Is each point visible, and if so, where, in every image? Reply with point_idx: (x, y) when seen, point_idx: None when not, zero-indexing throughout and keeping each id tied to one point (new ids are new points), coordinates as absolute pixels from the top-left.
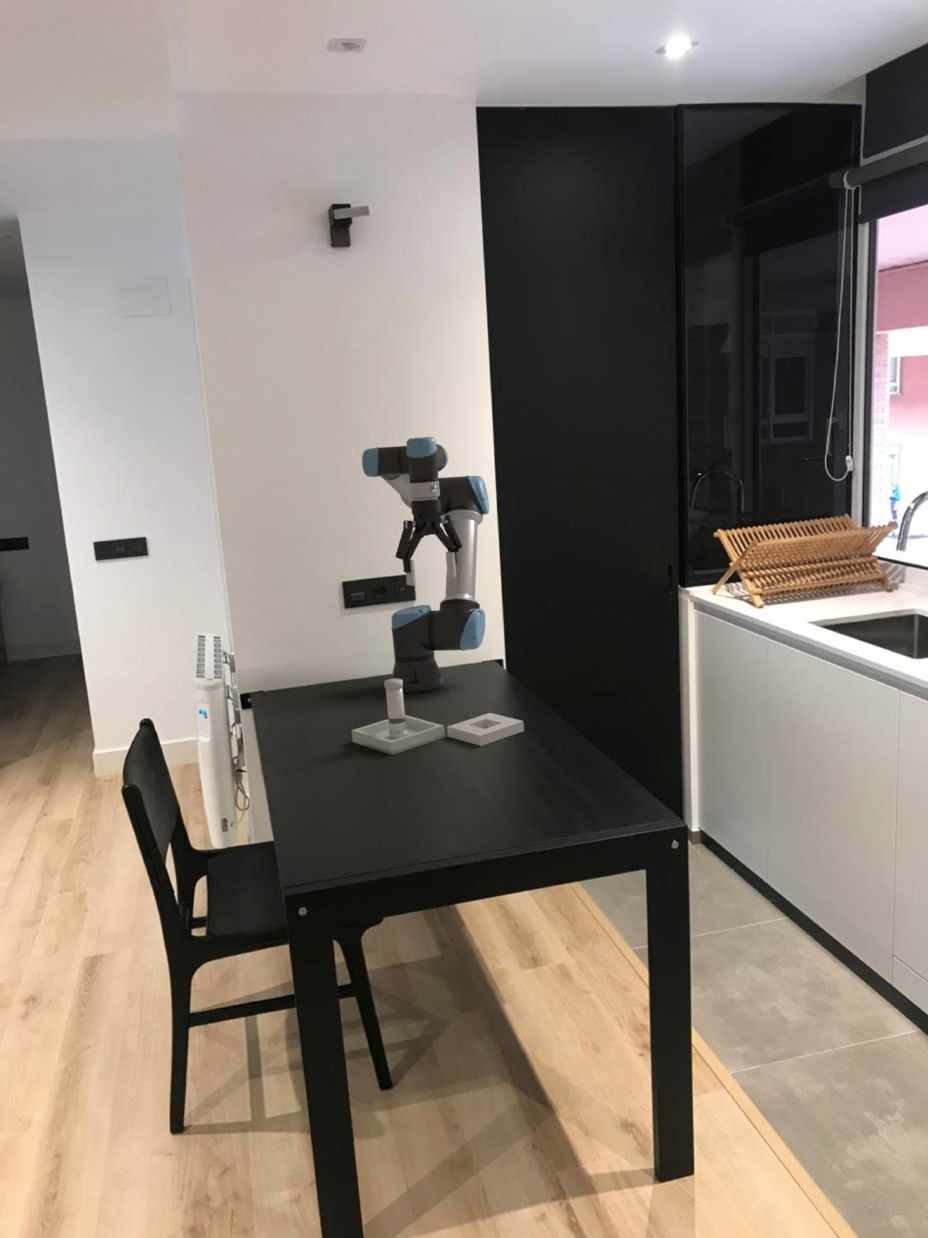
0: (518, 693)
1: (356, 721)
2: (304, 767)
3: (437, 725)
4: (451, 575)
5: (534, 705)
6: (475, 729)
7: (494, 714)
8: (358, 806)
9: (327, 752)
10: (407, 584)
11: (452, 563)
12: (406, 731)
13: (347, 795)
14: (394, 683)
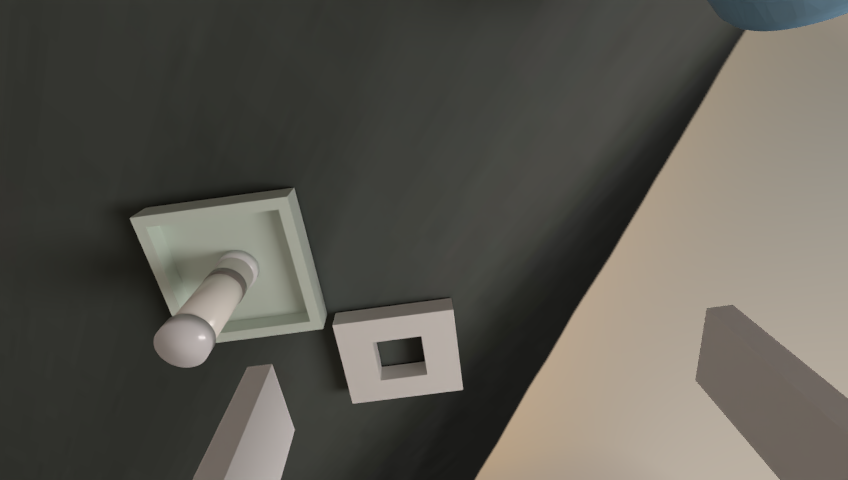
0: (658, 153)
1: (205, 44)
2: (15, 274)
3: (312, 319)
4: (707, 362)
5: (599, 261)
6: (366, 372)
7: (452, 325)
8: (81, 465)
9: (77, 224)
10: (248, 375)
11: (786, 478)
12: (250, 286)
13: (73, 427)
14: (176, 365)
